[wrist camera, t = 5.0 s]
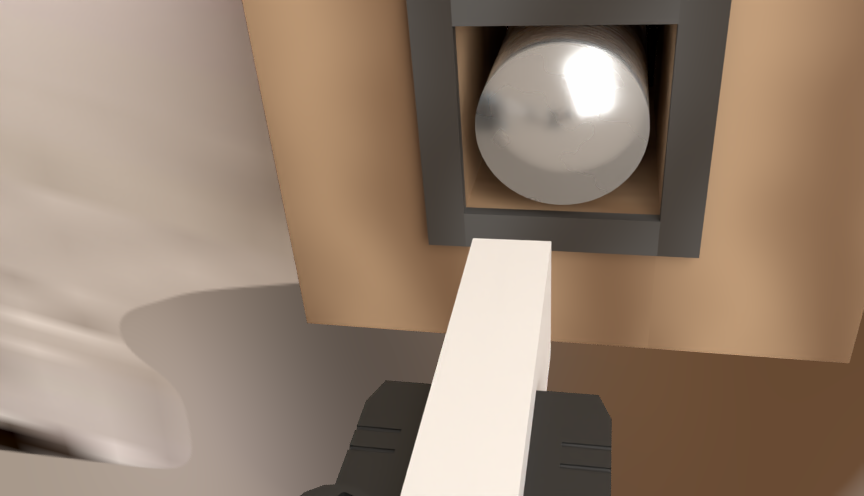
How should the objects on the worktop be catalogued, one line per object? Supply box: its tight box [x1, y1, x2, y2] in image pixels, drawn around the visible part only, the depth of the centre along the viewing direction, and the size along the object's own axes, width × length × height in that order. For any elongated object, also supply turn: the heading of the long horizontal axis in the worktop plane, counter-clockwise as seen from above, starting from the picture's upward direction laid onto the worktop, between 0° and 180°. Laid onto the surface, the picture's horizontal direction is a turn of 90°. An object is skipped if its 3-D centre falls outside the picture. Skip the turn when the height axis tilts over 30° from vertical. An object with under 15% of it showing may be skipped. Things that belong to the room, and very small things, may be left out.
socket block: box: [242, 0, 864, 363], centre depth 26 cm, size 18×16×10 cm
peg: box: [475, 24, 650, 205], centre depth 26 cm, size 5×5×9 cm
